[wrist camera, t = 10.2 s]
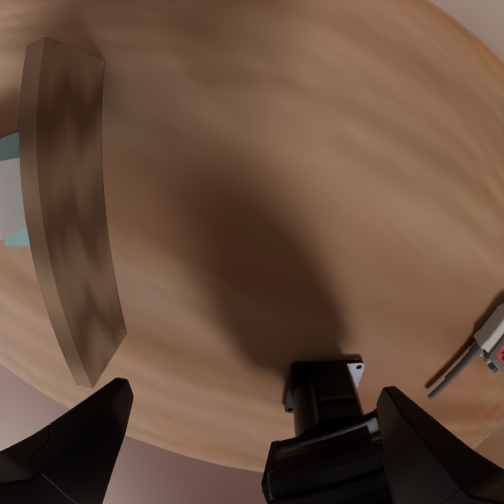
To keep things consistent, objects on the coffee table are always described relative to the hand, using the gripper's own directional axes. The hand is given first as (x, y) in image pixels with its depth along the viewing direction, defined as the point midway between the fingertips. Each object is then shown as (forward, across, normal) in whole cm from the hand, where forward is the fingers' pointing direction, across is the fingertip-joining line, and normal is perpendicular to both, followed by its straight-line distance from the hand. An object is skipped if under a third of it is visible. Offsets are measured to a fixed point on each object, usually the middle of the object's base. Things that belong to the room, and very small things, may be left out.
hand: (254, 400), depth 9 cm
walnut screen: (+12, +12, -4) cm, 17 cm away
